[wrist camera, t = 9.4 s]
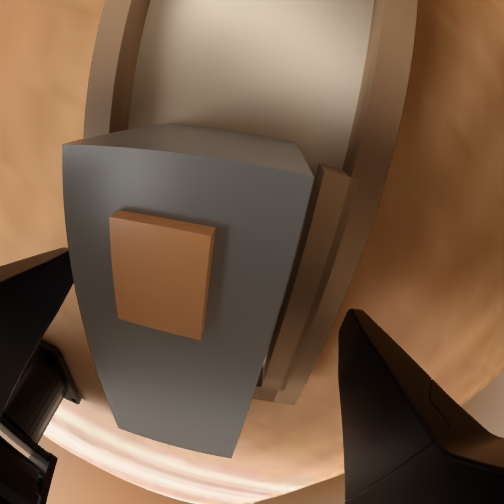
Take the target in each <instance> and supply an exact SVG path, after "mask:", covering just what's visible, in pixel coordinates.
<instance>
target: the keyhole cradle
mask: <svg viewBox="0 0 504 504" xmlns="http://www.w3.org/2000/svg"><path fill="white" fill-rule="evenodd" d="M417 4H418V0H106V1H105V4H104V8H103V12H102V16H101V20H100V24H99V28H98V32H97V37H96V41H95V46H94V52H93V57H92V63H91V69H90V76H89V83H88V90H87V99H86V109H85V121H84V138H83V139H85V138H90V137H94V136H99V135H103V134H108V133H113V132H118V131H123V130H129V129H134V128H140V127H147V126H153V125H160V124H167V123H169V124H180V125H190V126H199V127H207V128H215V129H222V130H229V131H236V132H242V133H248V134H254V135H260V136H265V137H271V138H276V139H281V140H286V141H291V142H295V143H296V144H297V145H298V147H299V149H300V151H301V153H302V155H303V157H304V158H305V160H306V162H307V164H308V166H309V168H310V170H311V172H312V174H313V176H314V180H313V184H312V188H311V193H310V197H309V201H308V205H307V209H306V213H305V217H304V221H303V225H302V229H301V232H300V236H299V240H298V244H297V248H296V252H295V255H294V259H293V263H292V266H291V270H290V274H289V277H288V281H287V285H286V288H285V292H284V295H283V299H282V302H281V306H280V309H279V313H278V316H277V319H276V323H275V326H274V330H273V333H272V336H271V340H270V343H269V346H268V349H267V353H266V356H265V359H264V362H263V366H262V369H261V372H260V375H259V378H258V381H257V384H256V388H255V391H254V394H253V397H252V399H258V400H264V401H271V402H278V403H286V404H295V403H296V401H297V399H298V397H299V395H300V394H301V392H302V390H303V388H304V386H305V384H306V382H307V380H308V378H309V376H310V374H311V372H312V370H313V368H314V366H315V364H316V362H317V360H318V358H319V356H320V353H321V351H322V349H323V347H324V345H325V343H326V341H327V338H328V336H329V334H330V332H331V329H332V327H333V325H334V323H335V320H336V318H337V316H338V313H339V311H340V309H341V306H342V304H343V302H344V299H345V297H346V294H347V292H348V289H349V287H350V284H351V282H352V279H353V276H354V274H355V271H356V269H357V266H358V263H359V261H360V258H361V255H362V252H363V250H364V247H365V244H366V241H367V238H368V235H369V232H370V229H371V226H372V223H373V220H374V217H375V214H376V211H377V208H378V205H379V201H380V198H381V195H382V191H383V188H384V184H385V181H386V177H387V174H388V170H389V166H390V163H391V159H392V155H393V151H394V147H395V143H396V139H397V135H398V130H399V126H400V121H401V117H402V112H403V107H404V102H405V97H406V91H407V86H408V80H409V74H410V68H411V61H412V54H413V46H414V38H415V28H416V18H417Z"/></svg>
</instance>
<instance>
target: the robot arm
mask: <svg viewBox="0 0 504 504" xmlns="http://www.w3.org/2000/svg"><path fill="white" fill-rule="evenodd" d="M73 283H74V280H73V275H72V269H71V262H70V256H69V249H68V248H60V249H56V250H53V251H49V252H46V253H42V254H39V255H36V256H32V257H29V258H26V259H22V260H19V261H16V262H13V263H10V264H6V265H3V266H0V430H1V431H2V432H3V433H4V434H5V435H7V436H8V437H9V438H10V439H11V440H13V441H14V442H15V443H16V444H17V445H19V446H20V447H21V448H23V449H24V450H25V451H26V452H27V453H29V454H30V455H31V456H30V457H29V459H28V458H27V457H26V456H24V455H23V454H22V453H20V452H19V451H18V450H17V449H15V448H14V447H13V446H12V445H10V444H9V443H8V442H7V441H6V440H5V439H3V438H2V437H1V436H0V504H46V501H47V496H48V493H49V489H50V485H51V480H52V477H53V473H54V469H55V466H56V463H57V459H58V458H57V457H56V456H54V455H53V454H51V453H48V452H47V451H45V450H44V449H43V448H41V447H40V446H39V445H38V442H39V441H40V439H41V437H42V435H43V433H44V431H45V429H46V428H47V426H48V424H49V422H50V420H51V419H52V417H53V415H54V413H55V412H56V410H57V408H58V406H59V405H60V403H61V401H62V400H63V398H65V399H67V400H69V401H72V402H74V403H76V404H79V403H80V401H81V398H80V396H79V394H78V392H77V390H76V388H75V385H74V383H73V381H72V379H71V377H70V374H69V372H68V370H67V367H66V365H65V363H64V360H63V358H62V355H61V353H60V352H59V351H58V350H57V349H56V348H54V347H52V346H50V345H48V344H46V343H44V342H42V341H40V340H41V338H42V337H43V335H44V333H45V332H46V330H47V328H48V327H49V325H50V324H51V322H52V320H53V319H54V317H55V316H56V314H57V312H58V311H59V309H60V307H61V305H62V303H63V302H64V300H65V298H66V296H67V294H68V292H69V290H70V289H71V287H72V285H73ZM338 379H339V391H340V402H341V415H342V429H343V446H344V469H345V500H346V501H345V504H504V438H501V437H498V436H495V435H493V434H491V433H490V432H488V431H487V430H486V429H485V428H484V427H483V426H482V425H481V424H479V423H478V422H477V421H476V420H475V419H474V418H473V417H472V416H471V415H469V414H468V413H467V412H466V411H465V410H464V409H463V408H462V407H460V406H459V405H458V404H457V403H456V402H455V401H454V400H453V399H452V398H451V397H450V396H449V395H448V394H447V393H446V392H445V391H444V390H443V389H442V388H441V387H440V386H439V385H438V384H437V383H436V382H435V381H434V380H433V379H432V380H431V377H430V376H429V375H428V374H427V373H426V372H425V371H424V370H423V369H422V368H421V367H420V366H419V365H418V364H417V363H416V362H415V361H414V360H413V359H412V358H411V357H410V356H409V355H408V354H407V353H406V352H405V351H404V350H403V349H402V348H401V347H400V346H399V345H398V344H397V343H396V342H395V341H394V340H393V339H392V338H391V337H390V336H389V335H388V334H387V333H386V332H385V331H384V330H383V329H382V328H381V327H379V326H378V325H377V324H376V323H375V322H374V321H373V320H372V319H371V318H370V317H369V316H368V315H367V314H366V313H365V312H364V311H363V310H360V309H353V308H351V309H349V310H348V312H347V314H346V316H345V318H344V321H343V323H342V325H341V327H340V330H339V355H338Z"/></svg>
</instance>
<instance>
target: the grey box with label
mask: <svg viewBox="0 0 504 504" xmlns="http://www.w3.org/2000/svg"><path fill="white" fill-rule="evenodd" d="M62 169H63V197H64V212H65V223H66V233H67V241H68V249H69V256H70V262H71V269H72V275H73V280H74V285H75V291H76V295H77V300H78V305H79V309H80V314H81V318H82V322H83V326H84V330H85V333H86V337H87V341H88V344H89V348H90V351H91V354H92V358H93V361H94V364H95V367H96V370H97V373H98V376H99V379H100V382H101V385H102V388H103V390H104V393H105V396H106V398H107V401H108V403H109V406H110V408H111V411H112V413H113V416H114V418H115V421H116V423H117V425H118V427H119V428H120V429H123V430H126V431H128V432H131V433H134V434H137V435H140V436H143V437H146V438H149V439H152V440H156V441H159V442H162V443H166V444H169V445H173V446H177V447H181V448H184V449H189V450H193V451H197V452H201V453H206V454H211V455H216V456H221V457H227V458H232V455H233V452H234V449H235V447H236V444H237V441H238V438H239V435H240V432H241V429H242V427H243V424H244V421H245V418H246V415H247V412H248V409H249V406H250V403H251V400H252V397H253V394H254V391H255V388H256V384H257V381H258V378H259V375H260V372H261V369H262V366H263V362H264V359H265V356H266V353H267V349H268V346H269V343H270V340H271V336H272V333H273V330H274V326H275V323H276V319H277V316H278V313H279V309H280V306H281V302H282V299H283V295H284V292H285V288H286V285H287V281H288V277H289V274H290V270H291V266H292V263H293V259H294V255H295V252H296V248H297V244H298V240H299V236H300V232H301V229H302V225H303V221H304V217H305V213H306V209H307V205H308V201H309V197H310V193H311V188H312V184H313V180H314V176H313V174H312V172H311V170H310V168H309V166H308V164H307V162H306V160H305V158H304V157H303V155H302V153H301V151H300V149H299V147H298V145H297V144H296V143H295V142H291V141H286V140H281V139H276V138H271V137H265V136H260V135H254V134H248V133H242V132H236V131H229V130H222V129H215V128H207V127H199V126H190V125H180V124H169V123H167V124H160V125H153V126H147V127H140V128H134V129H129V130H123V131H118V132H113V133H108V134H103V135H99V136H94V137H90V138H85V139H81V140H77V141H73V142H69V143H66V144H63V151H62Z"/></svg>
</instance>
